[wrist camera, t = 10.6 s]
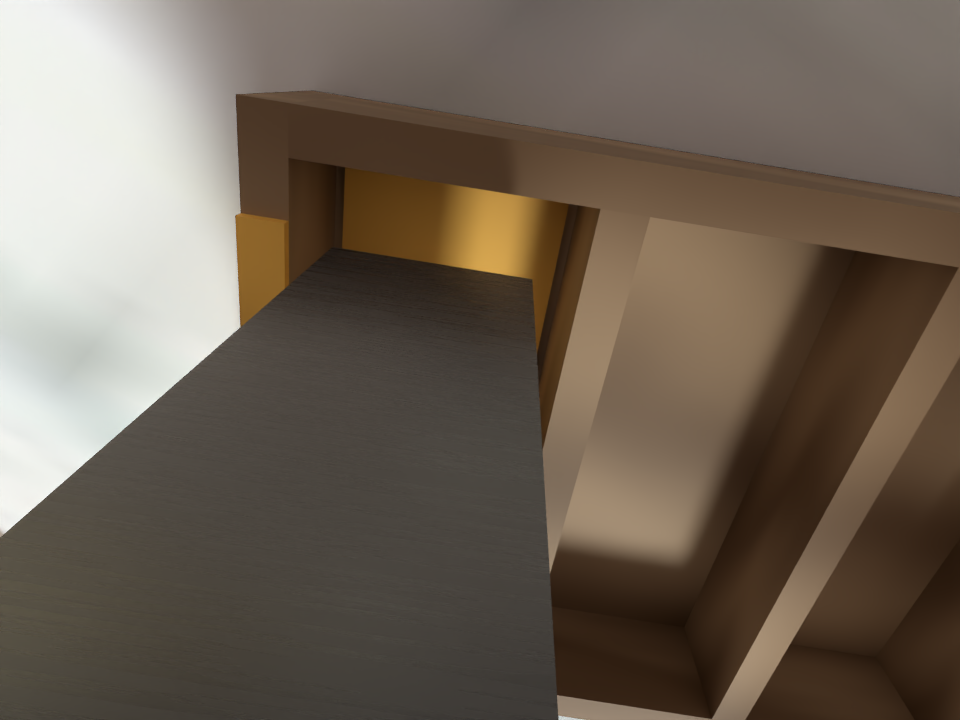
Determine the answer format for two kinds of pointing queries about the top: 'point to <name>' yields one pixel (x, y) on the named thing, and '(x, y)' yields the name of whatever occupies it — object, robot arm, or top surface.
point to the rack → (682, 394)
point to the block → (307, 522)
